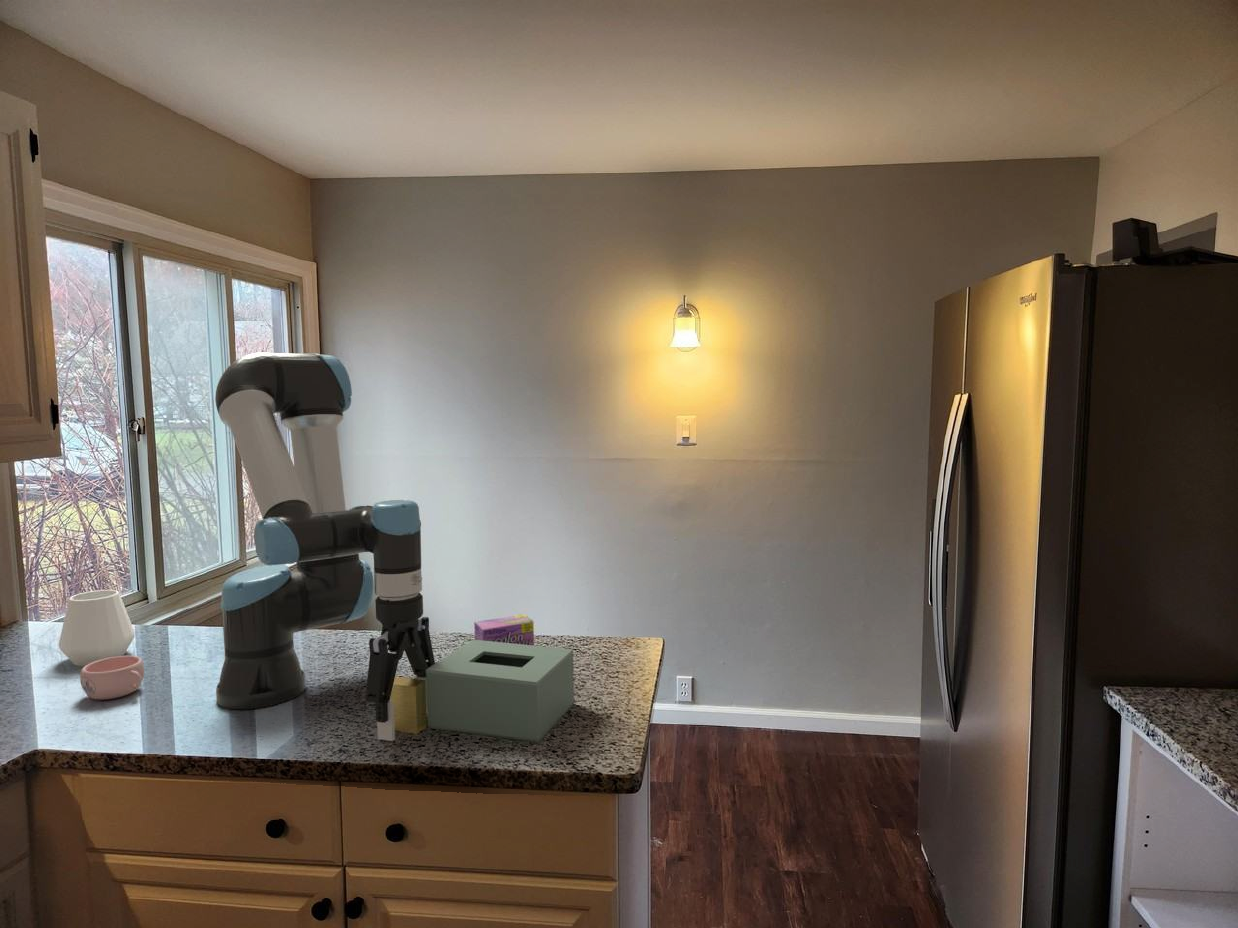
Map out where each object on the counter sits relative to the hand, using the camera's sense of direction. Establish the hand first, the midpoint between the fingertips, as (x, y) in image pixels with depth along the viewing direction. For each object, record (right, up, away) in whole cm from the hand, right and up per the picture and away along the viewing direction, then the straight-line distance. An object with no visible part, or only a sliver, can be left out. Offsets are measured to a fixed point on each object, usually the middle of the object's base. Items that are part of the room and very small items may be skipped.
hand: (404, 725), depth 125 cm
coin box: (+16, 0, +4) cm, 17 cm away
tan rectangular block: (0, 0, 0) cm, 0 cm away
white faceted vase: (-76, +2, +36) cm, 84 cm away
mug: (-58, 0, +15) cm, 60 cm away
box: (+14, +2, +21) cm, 25 cm away
